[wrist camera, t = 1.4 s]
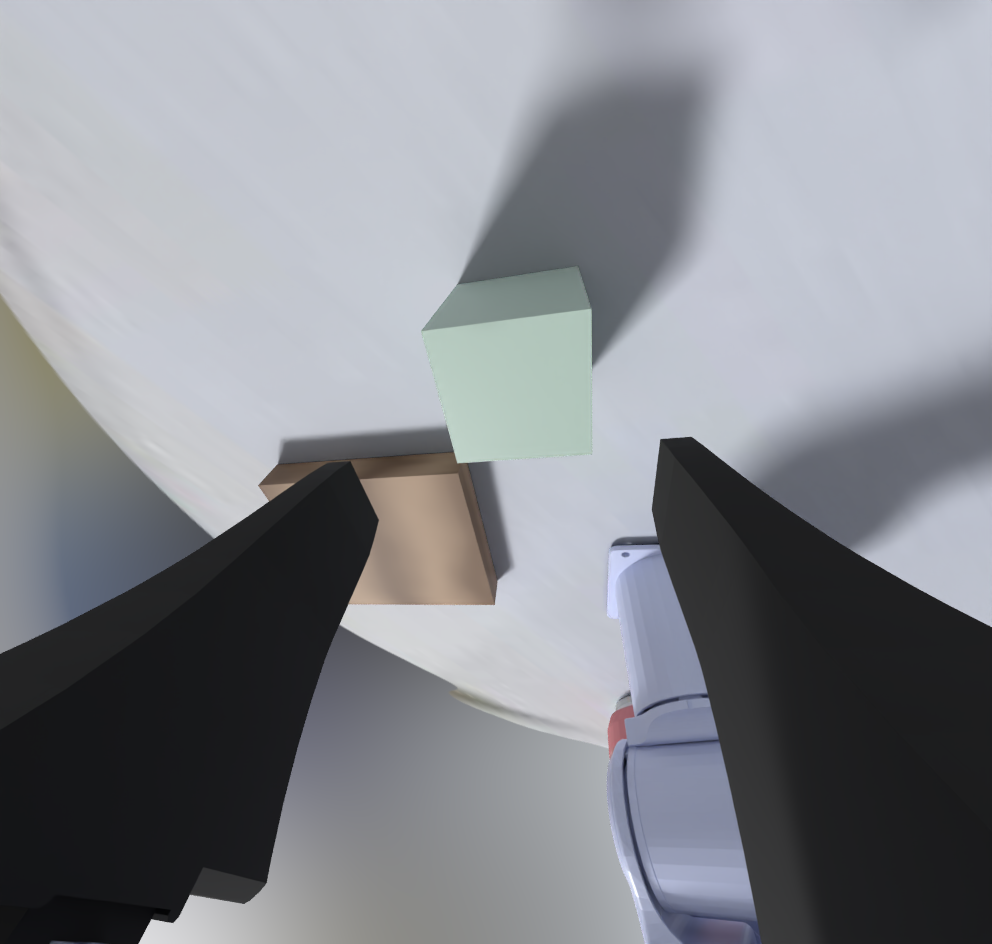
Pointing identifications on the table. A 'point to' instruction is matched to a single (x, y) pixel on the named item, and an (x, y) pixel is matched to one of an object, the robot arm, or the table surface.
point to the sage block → (515, 366)
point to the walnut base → (415, 530)
